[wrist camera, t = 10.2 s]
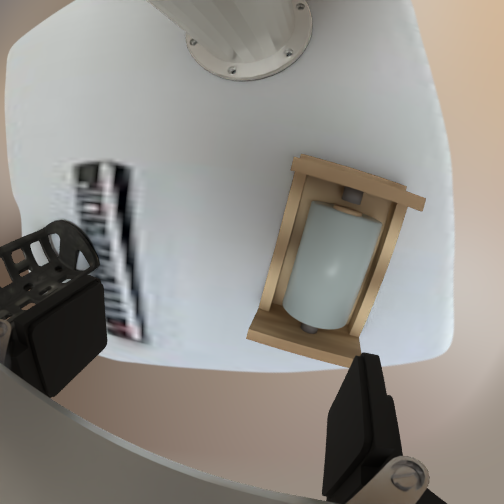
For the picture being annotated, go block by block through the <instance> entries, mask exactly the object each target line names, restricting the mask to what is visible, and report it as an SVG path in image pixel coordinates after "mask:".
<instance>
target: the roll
mask: <svg viewBox="0 0 504 504" xmlns="http://www.w3.org/2000/svg"><path fill="white" fill-rule="evenodd" d="M381 227H382V223H381V222H380V221H378V220H377V219H375V218H372V217H370V216H368V215H365V214H363V213H361V212H359V211H357V210H354V209H351V208H348V207H345V206H342V205H337V204H331V203H327V202H322V201H312V202H311V206H310V209H309V213H308V217H307V220H306V224H305V227H304V231H303V234H302V238H301V241H300V245H299V248H298V252H297V255H296V259H295V262H294V265H293V269H292V272H291V275H290V279H289V282H288V285H287V289H286V292H285V295H284V298H283V303H282V304H283V307H284V309H285V310H286V311H287V312H288V313H289V314H290V315H291V316H292V317H294V318H295V319H297V320H298V321H300V322H302V323H305V324H307V325H310V326H313V327H316V328H321V329H339V328H341V327H343V326H345V325H346V323H347V320H348V318H349V316H350V313H351V311H352V308H353V306H354V303H355V301H356V298H357V296H358V293H359V290H360V288H361V285H362V282H363V280H364V277H365V274H366V272H367V269H368V266H369V263H370V260H371V257H372V255H373V252H374V249H375V246H376V243H377V240H378V237H379V234H380V231H381Z"/></svg>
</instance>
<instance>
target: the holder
mask: <svg viewBox="0 0 504 504" xmlns="http://www.w3.org/2000/svg"><path fill="white" fill-rule="evenodd" d="M55 233H57V234H58V235H59V237H60V252H59V257H57V255H56V254H55V252H54V251H53V249H52V247H51V244H50V242H49V238H48V235H50V234H55ZM36 241H39V242H40V244H41V246H42V249H43V251H44V253H45V255H46V257H47V259H48V261H49V263H47V264H45V265H43V266H39V265H38V264H37V262H36V260H35V258H34V256H33V254H32V251H31V248H30V244H31V243H33V242H36ZM20 248H21V250H22V251H23V254H24V256H25V260H23V261H21V262H19V263H17V264H15V263H14V262H13V259H12V256H11V254H12V252H13V251H15V250H17V249H20ZM78 250H80V251H81V252H82V253H83V255H84V256H85V258H86V260H87V261H88V263H89V265H90V267H89V268H88V269H86V270H85V271H76V270H75V265H76V259H77V253H78ZM0 258H2V260H3V261H4V264H5V266H6V269H7V271H8V273H9V275H10V277H11V280H12V281H13V282H12V283H11V284H9V285H7V286H5V287H4V288H1V287H0V319H3V320H6V319H7V318H8V317H10V318H9V319H8V320H6V321H8V322H9V323H10V325H11V327H12V328H14V327H15V325H14V321H13V319H14V318H16V317H17V316H19V315H20V314H22V313H24V312H25V311H27V310H22V309H21V308H23V307H24V306H26V305H27V304H29V303H35V304H38V303H39V302H41V301H43V300H44V299H46V298H48V297H49V296H51V295H52V294H54V293H56V292H57V291H59V290H61V289H62V288H64V287H66V286H67V285H69V284H71V283H72V282H74V281H76V280H77V279H79V278H81V277H83V276H84V275H87V274H89V273H90V272H92V271H94V270H95V269H96V268H98V266H99V261H98V257H97V255H96V253H95V251H94V250H93V249H92V247H91V245H90V244H89V242H88V241H87V239H86V238H85V237H84V236H83V235H82V233H81V232H80V231H79V230H78V229H77V228H75V227H74V226H73V225H71V224H70V223H68V222H65V221H61V220H60V221H54V222H52V223H50V224H48V225H47V226H46V227H44V228H43V229H41V230H39V231H37V232H34V233H32V234H29V235H27V236H24V237H22V238H20V239H17V240H15V241H13V242H10V243H8V244H6V245H4V246H1V247H0ZM28 269H29V270H30V271H31V272H30V273H29V274H27V275H25V276H23V277H21V276H20V275H19V274H20V273H22V272H24V271H26V270H28ZM66 279H71V280H70V281H68V282H67V283H61V282H63V281H65V280H66ZM30 289H31V290H30ZM28 290H30V291H28ZM47 291H48V292H47ZM44 293H45V294H44Z"/></svg>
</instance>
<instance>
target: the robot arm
mask: <svg viewBox="0 0 504 504" xmlns="http://www.w3.org/2000/svg"><path fill="white" fill-rule="evenodd" d="M146 1H147V2H149V3H150V4H151V5H153V6H154V7H155V8H156V9H158V10H159V11H160V12H162V13H163V14H164V15H165V16H167V17H168V18H169V19H170V20H172V21H173V22H174V23H175V24H177V25H178V26H179V27H180V28H181V29H183V30H184V31H185V32H186V43H187V47H188V49H189V51H190V53H191V55H192V57H193V58H194V59H195V60H196V62H197V63H198V64H199V65H201V66H202V67H203V68H204V69H206V70H207V71H209V72H211V73H212V74H214V75H217V76H219V77H222V78H225V79H230V80H239V81H249V80H256V79H261V78H265V77H268V76H271V75H274V74H276V73H278V72H280V71H282V70H284V69H285V68H287V67H288V66H289V65H291V64H292V63H294V62H295V61H296V60H297V58H298V57H299V56H300V55H301V54H302V53H303V51H304V50H305V48H306V47H307V45H308V43H309V40H310V37H311V34H312V16H311V12H310V8H309V6H308V4H307V2H306V1H305V0H146ZM299 9H303V10H299ZM196 43H197V44H196ZM195 44H196V45H195ZM289 53H290V54H292V56H287V54H289ZM233 71H236V73H234V74H232V72H233ZM13 321H14V325H15V327H14V328H12V327H11V325H10V323H9V322H8V321H6V320H3V319H0V504H447V503H446V502H444V501H443V500H441V499H440V498H439V497H438V496H436V495H435V494H434V493H433V492H431V491H430V490H429V489H428V488H427V487H428V484H429V478H430V477H429V473H428V470H427V468H426V467H425V466H424V464H423V463H421V462H420V461H419V460H417V459H415V458H413V457H409V456H403V454H402V447H401V441H400V434H399V428H398V422H397V417H396V412H395V406H394V401H393V398H392V397H391V396H390V395H387V393H386V388H385V382H384V377H383V372H382V367H381V363H380V358H379V356H378V355H374V354H369V353H364V352H363V353H362V354H361V355H360V356H357V355H356V356H355V357H354V359H353V361H352V364H351V366H350V368H349V370H348V373H347V375H346V377H345V379H344V381H343V383H342V385H341V387H340V390H339V392H338V394H337V396H336V398H335V400H334V402H333V404H332V406H331V408H330V410H329V413H328V419H327V437H326V453H325V465H324V477H323V487H322V495H323V496H327V500H326V501H322V500H317V499H311V498H306V497H301V496H296V495H290V494H285V493H280V492H275V491H271V490H267V489H262V488H258V487H254V486H250V485H247V484H242V483H239V482H235V481H232V480H228V479H224V478H221V477H217V476H215V475H211V474H208V473H205V472H202V471H199V470H196V469H193V468H190V467H187V466H185V465H182V464H179V463H177V462H174V461H171V460H169V459H166V458H164V457H161V456H159V455H156V454H154V453H152V452H149V451H147V450H145V449H142V448H140V447H138V446H136V445H134V444H132V443H129V442H127V441H125V440H123V439H121V438H119V437H117V436H115V435H113V434H111V433H109V432H107V431H105V430H103V429H101V428H99V427H97V426H96V425H94V424H92V423H90V422H88V421H87V420H85V419H83V418H81V417H80V416H78V415H76V414H75V413H73V412H71V411H70V410H68V409H66V408H65V407H63V406H61V405H60V404H58V403H57V402H55V401H53V400H52V399H50V398H51V397H54V396H56V395H57V394H58V393H59V392H60V391H61V390H62V389H63V388H64V387H65V386H66V385H67V384H68V383H69V382H70V381H71V380H72V379H73V378H74V377H75V376H76V375H77V374H78V373H80V372H81V370H83V369H84V368H85V367H86V366H87V365H88V364H89V363H90V362H91V361H92V360H93V359H94V358H95V357H96V356H97V355H98V354H99V353H100V352H101V351H102V350H103V349H104V348H105V347H106V345H107V331H106V319H105V304H104V287H103V284H101V281H100V279H98V278H96V277H93V276H90V275H84V276H83V277H81V278H79V279H77V280H76V281H74V282H72V283H71V284H69V285H67V286H66V287H64V288H62V289H61V290H59V291H57V292H56V293H54V294H52V295H51V296H49V297H48V298H46V299H44V300H43V301H41V302H39V303H38V304H36V305H35V306H33V307H31V308H30V309H28V310H27V311H25V312H24V313H22V314H20V315H19V316H17V317H16V318H14V319H13Z"/></svg>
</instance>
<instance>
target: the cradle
mask: <svg viewBox="0 0 504 504" xmlns="http://www.w3.org/2000/svg"><path fill="white" fill-rule="evenodd" d="M291 171H295V173H294V177H293V181H292V185H291V188H290V192H289V196H288V200H287V204H286V208H285V212H284V215H283V219H282V223H281V227H280V231H279V235H278V238H277V242H276V246H275V250H274V253H273V257H272V261H271V264H270V268H269V272H268V275H267V279H266V283H265V286H264V290H263V294H262V297H261V301H260V305H259V308H258V310H257V313H256V315H255V317H254V319H253V321H252V323H251V325H250V327H249V330H248V334H247V337H246V339H249V340H252V341H255V342H258V343H262V344H265V345H268V346H271V347H275V348H278V349H281V350H285V351H288V352H292V353H295V354H298V355H302V356H306V357H309V358H313V359H316V360H320V361H324V362H328V363H332V364H335V365H339V366H343V367H347V368H350V366H351V364H352V361H353V359H354V357H355V356H356V355H357V356H360V355H361V348H360V342H359V336H360V333H361V331H362V329H363V327H364V324H365V322H366V320H367V318H368V315H369V313H370V310H371V308H372V306H373V303H374V301H375V298H376V296H377V293H378V291H379V288H380V286H381V283H382V281H383V278H384V275H385V273H386V270H387V267H388V265H389V262H390V259H391V256H392V253H393V250H394V248H395V245H396V242H397V239H398V236H399V233H400V230H401V226H402V223H403V220H404V217H405V214H406V210H407V207H411V208H413V209H416V210H419V211H423V208H424V204H425V201H426V198H423V197H420V196H418V195H415V194H412V193H410V192H407V191H406V188H407V186H404V185H401V184H398V183H396V182H393V181H390V180H387V179H384V178H381V177H378V176H375V175H372V174H369V173H366V172H363V171H360V170H356V169H353V168H350V167H347V166H343V165H340V164H337V163H333V162H330V161H326V160H323V159H319V158H315V157H312V156H308V155H304V154H301V156H300V158H297V157H294V158H293V162H292V166H291ZM312 201H322V202H327V203H331V204H337V205H342V206H345V207H348V208H351V209H354V210H357V211H359V212H361V213H363V214H365V215H368V216H370V217H372V218H375V219H377V220H378V221H380V222H381V223H382V227H381V231H380V234H379V237H378V240H377V243H376V246H375V249H374V252H373V255H372V257H371V260H370V263H369V266H368V269H367V272H366V274H365V277H364V280H363V282H362V285H361V288H360V290H359V293H358V296H357V298H356V301H355V303H354V306H353V308H352V311H351V313H350V316H349V318H348V320H347V323H346V325H345V326H343V327H341V328H339V329H321V328H316V327H313V326H310V325H307V324H305V323H302V322H300V321H298V320H297V319H295V318H294V317H292V316H291V315H290V314H289V313H288V312H287V311H286V310H285V309H284V307H283V304H282V303H283V298H284V295H285V292H286V289H287V285H288V282H289V279H290V275H291V272H292V269H293V265H294V262H295V259H296V255H297V252H298V248H299V245H300V241H301V238H302V234H303V231H304V227H305V224H306V220H307V217H308V213H309V209H310V206H311V202H312Z"/></svg>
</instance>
